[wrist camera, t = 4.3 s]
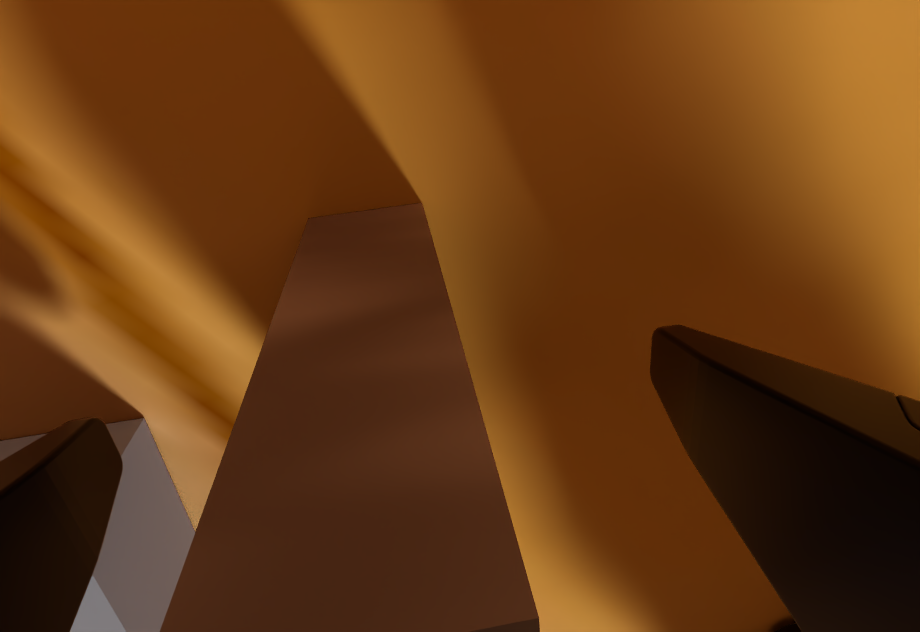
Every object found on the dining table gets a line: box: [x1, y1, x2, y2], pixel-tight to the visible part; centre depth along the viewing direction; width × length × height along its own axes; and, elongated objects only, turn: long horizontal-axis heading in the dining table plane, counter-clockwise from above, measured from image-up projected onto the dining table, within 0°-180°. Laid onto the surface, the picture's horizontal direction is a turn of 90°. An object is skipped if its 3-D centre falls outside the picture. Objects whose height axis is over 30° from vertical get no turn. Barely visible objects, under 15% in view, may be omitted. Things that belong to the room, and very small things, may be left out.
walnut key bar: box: [160, 203, 540, 632], centre depth 7 cm, size 2×5×8 cm, turn 6°
